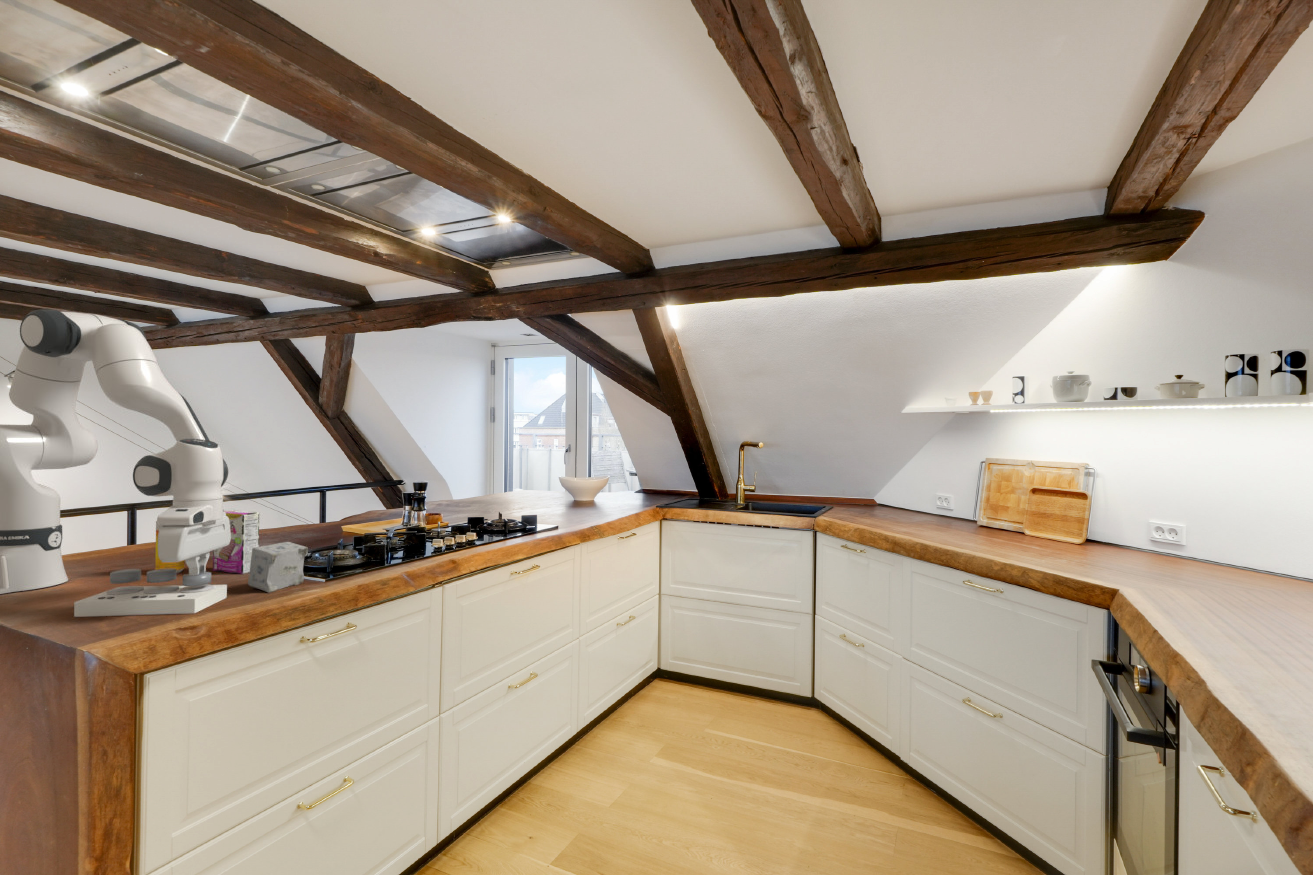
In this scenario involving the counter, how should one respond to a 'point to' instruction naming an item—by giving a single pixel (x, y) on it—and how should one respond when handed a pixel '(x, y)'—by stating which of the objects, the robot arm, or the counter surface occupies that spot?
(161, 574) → the button three
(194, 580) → the button one
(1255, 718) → the counter surface
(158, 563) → the beer can
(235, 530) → the candy bar box
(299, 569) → the grey stone block
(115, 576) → the button two
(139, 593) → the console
